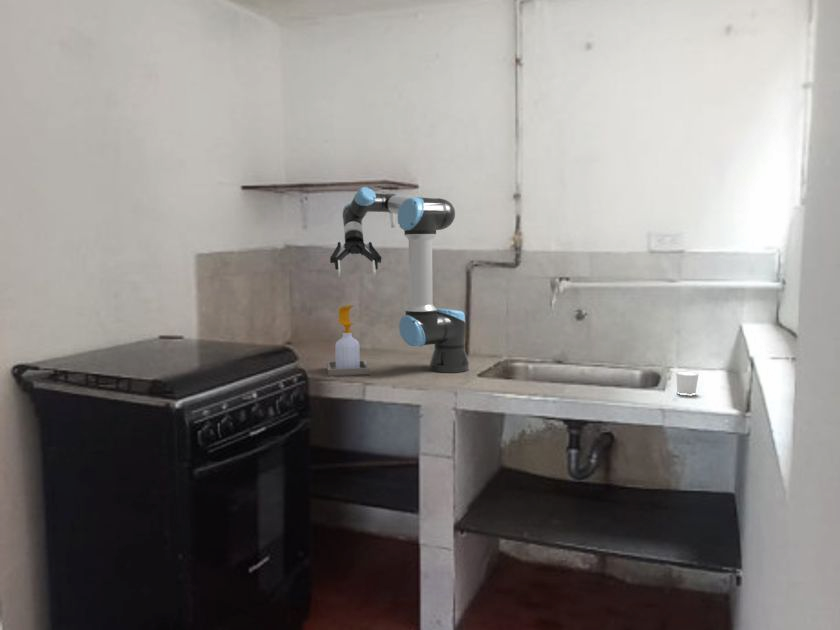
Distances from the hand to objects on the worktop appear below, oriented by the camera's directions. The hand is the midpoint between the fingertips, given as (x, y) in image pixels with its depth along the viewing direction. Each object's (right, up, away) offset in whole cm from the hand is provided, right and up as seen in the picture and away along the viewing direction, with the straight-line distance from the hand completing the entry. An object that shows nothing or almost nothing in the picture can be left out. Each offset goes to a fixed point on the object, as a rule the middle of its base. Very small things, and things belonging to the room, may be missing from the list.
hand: (357, 274), depth 277 cm
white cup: (+112, -42, -43) cm, 127 cm away
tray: (-3, -37, -9) cm, 38 cm away
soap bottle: (-3, -37, -9) cm, 38 cm away
